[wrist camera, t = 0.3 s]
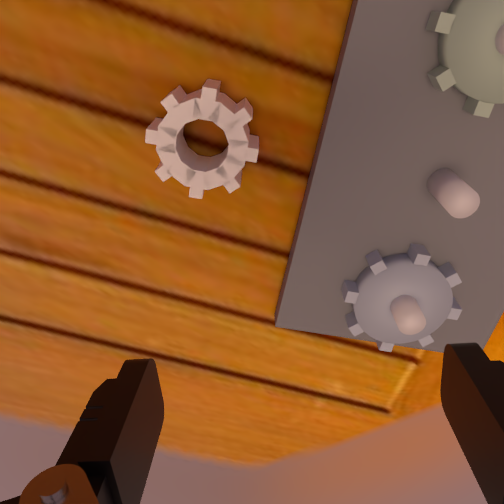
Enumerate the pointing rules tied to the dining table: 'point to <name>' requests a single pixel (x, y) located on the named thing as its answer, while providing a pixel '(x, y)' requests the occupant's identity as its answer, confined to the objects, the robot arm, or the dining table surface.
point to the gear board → (406, 182)
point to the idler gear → (186, 160)
